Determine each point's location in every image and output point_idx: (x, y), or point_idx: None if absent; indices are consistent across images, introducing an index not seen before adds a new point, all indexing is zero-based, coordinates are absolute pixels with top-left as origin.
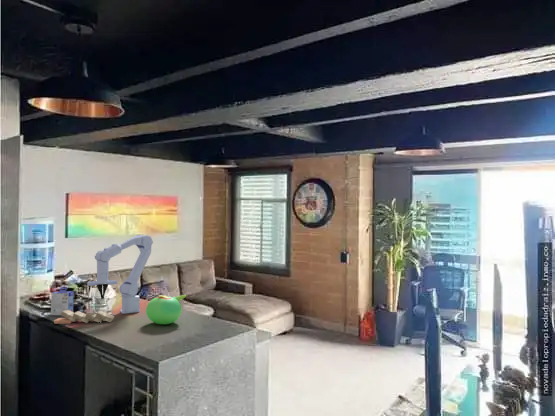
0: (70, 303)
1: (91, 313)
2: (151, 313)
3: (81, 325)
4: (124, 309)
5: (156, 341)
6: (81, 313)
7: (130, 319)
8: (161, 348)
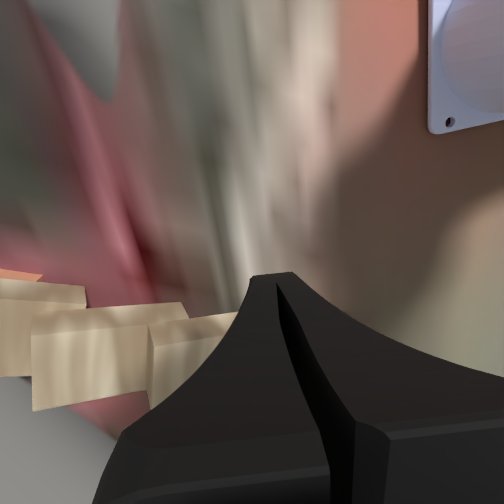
0: None
1: (182, 369)
2: None
3: (147, 397)
4: (481, 100)
5: None
6: (85, 351)
7: (461, 322)
8: None
